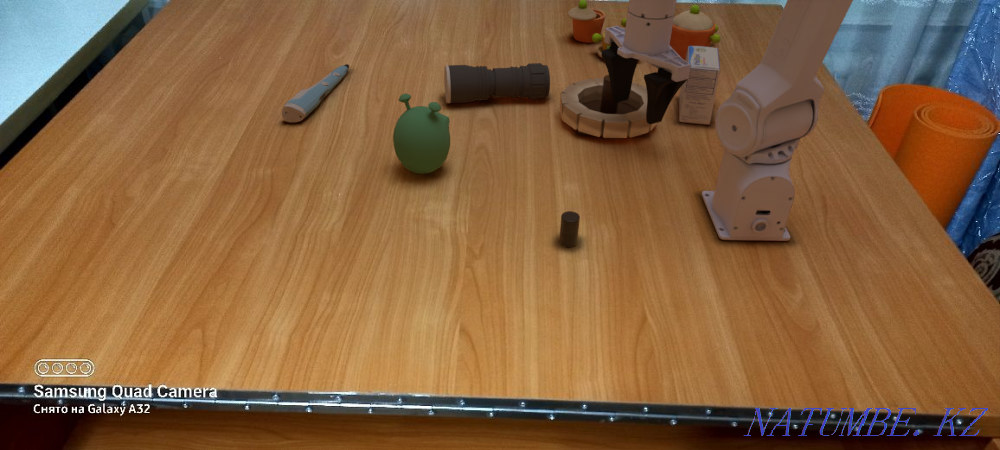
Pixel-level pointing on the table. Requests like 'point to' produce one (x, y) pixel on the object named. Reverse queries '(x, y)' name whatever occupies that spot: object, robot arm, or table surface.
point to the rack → (608, 103)
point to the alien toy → (421, 137)
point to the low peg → (569, 229)
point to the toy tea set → (589, 23)
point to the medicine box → (699, 85)
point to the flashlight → (495, 82)
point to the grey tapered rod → (312, 96)
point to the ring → (601, 122)
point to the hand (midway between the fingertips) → (636, 110)
